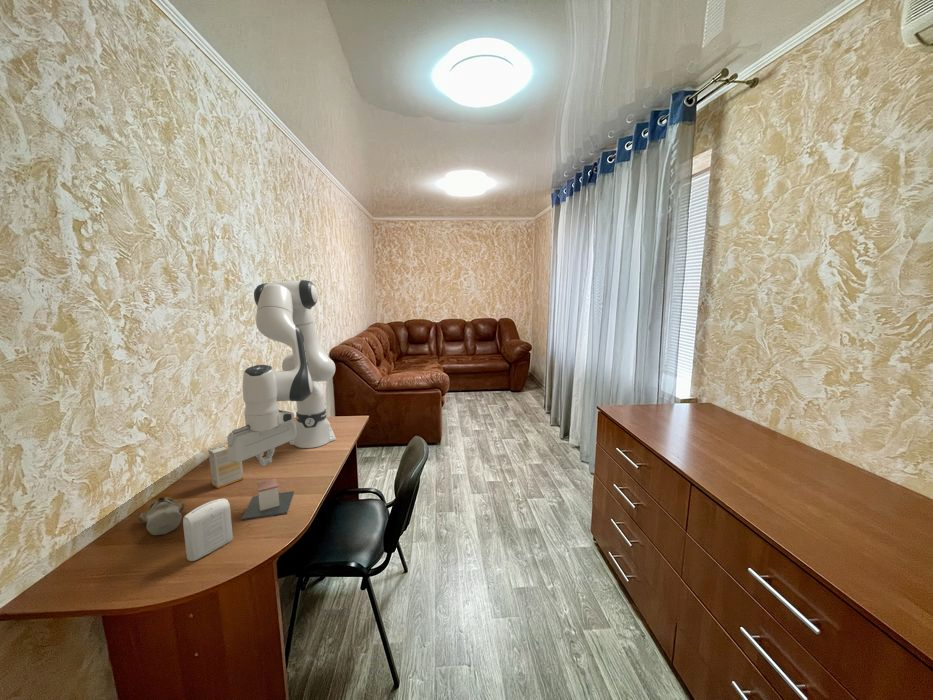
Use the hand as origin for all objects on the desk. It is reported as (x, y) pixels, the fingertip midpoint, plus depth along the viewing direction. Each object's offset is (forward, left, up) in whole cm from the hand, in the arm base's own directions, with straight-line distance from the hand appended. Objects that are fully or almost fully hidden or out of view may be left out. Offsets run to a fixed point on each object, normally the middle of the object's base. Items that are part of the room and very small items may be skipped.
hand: (265, 463), depth 110 cm
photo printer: (+17, -10, -14) cm, 24 cm away
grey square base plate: (0, 0, -14) cm, 14 cm away
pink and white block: (0, 0, -13) cm, 13 cm away
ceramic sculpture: (+3, -26, -14) cm, 30 cm away
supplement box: (-19, -17, -14) cm, 29 cm away
